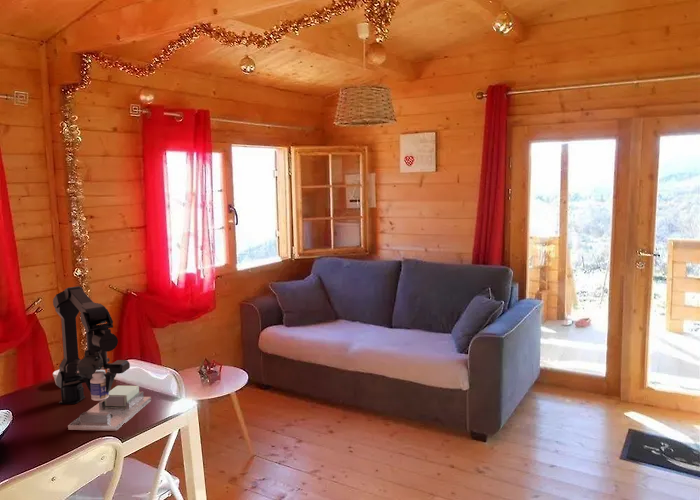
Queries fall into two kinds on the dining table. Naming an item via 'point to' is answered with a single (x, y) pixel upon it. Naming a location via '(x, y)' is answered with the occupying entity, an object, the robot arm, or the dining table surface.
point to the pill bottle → (98, 386)
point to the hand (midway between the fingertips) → (99, 392)
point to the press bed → (115, 420)
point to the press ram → (121, 395)
